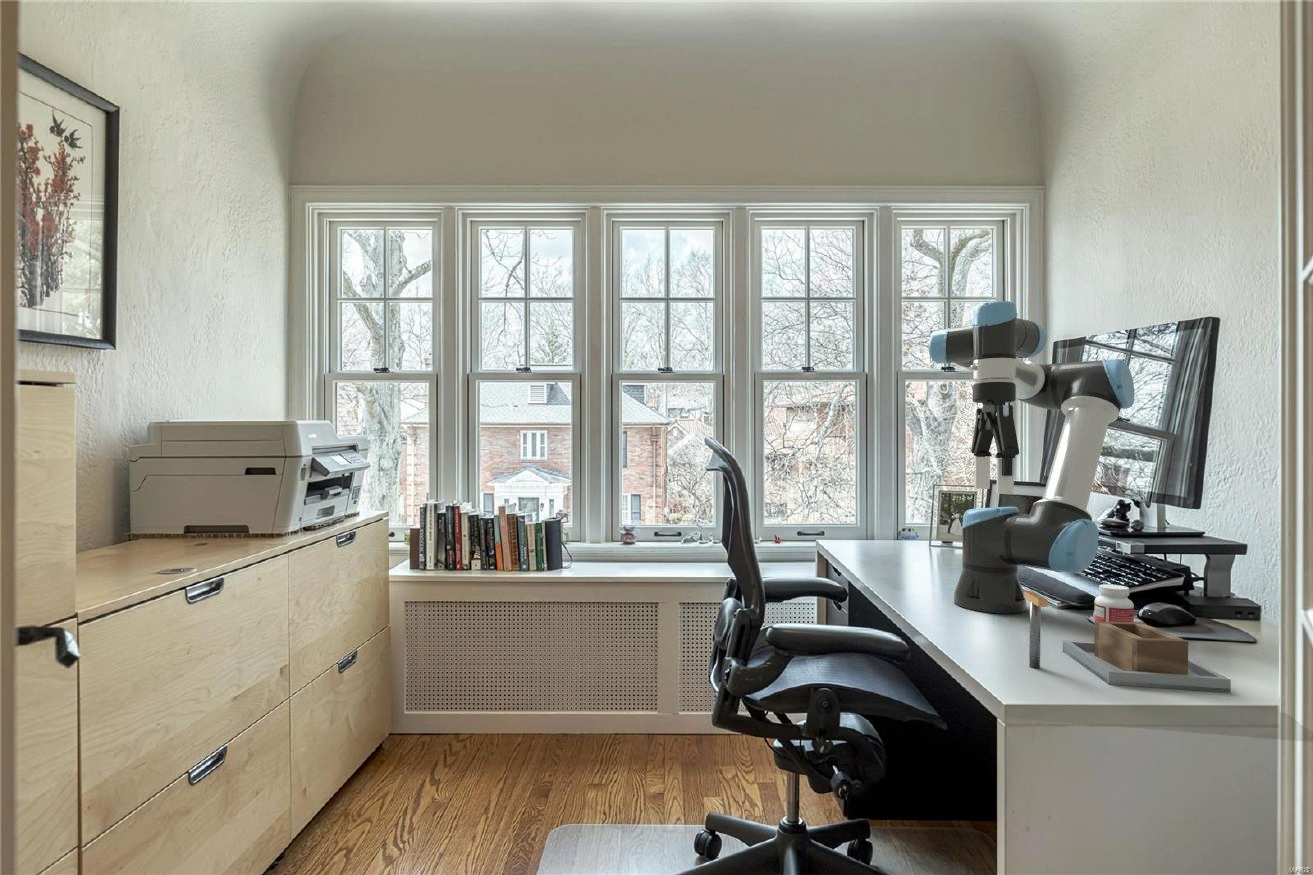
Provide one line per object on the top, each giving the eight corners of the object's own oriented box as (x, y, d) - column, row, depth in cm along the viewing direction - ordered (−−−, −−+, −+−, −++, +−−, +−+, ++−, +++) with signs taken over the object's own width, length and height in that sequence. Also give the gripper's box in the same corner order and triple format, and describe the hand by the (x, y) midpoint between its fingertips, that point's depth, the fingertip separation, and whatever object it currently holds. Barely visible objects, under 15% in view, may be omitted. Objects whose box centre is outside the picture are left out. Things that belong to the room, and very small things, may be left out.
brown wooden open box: (1094, 655, 117) (1094, 621, 117) (1147, 656, 117) (1147, 622, 117) (1136, 677, 106) (1137, 640, 106) (1195, 678, 106) (1196, 641, 106)
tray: (1062, 651, 122) (1062, 640, 122) (1166, 657, 119) (1166, 646, 119) (1108, 684, 105) (1108, 671, 105) (1230, 692, 102) (1230, 679, 102)
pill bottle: (1139, 646, 125) (1140, 587, 125) (1125, 651, 122) (1125, 591, 122) (1103, 638, 130) (1103, 581, 130) (1088, 643, 127) (1088, 585, 127)
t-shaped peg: (1022, 660, 116) (1023, 590, 116) (1032, 661, 116) (1033, 591, 116) (1037, 672, 110) (1037, 599, 110) (1047, 673, 109) (1048, 599, 109)
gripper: (956, 387, 142) (955, 486, 142) (994, 376, 117) (993, 495, 117) (993, 387, 141) (992, 487, 141) (1040, 375, 116) (1039, 496, 116)
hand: (992, 491), depth 129 cm, fingers open, 13 cm apart
